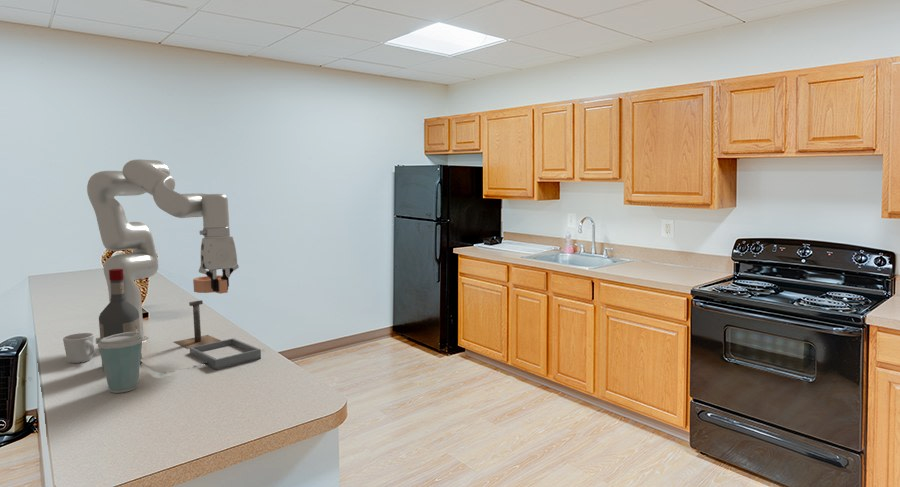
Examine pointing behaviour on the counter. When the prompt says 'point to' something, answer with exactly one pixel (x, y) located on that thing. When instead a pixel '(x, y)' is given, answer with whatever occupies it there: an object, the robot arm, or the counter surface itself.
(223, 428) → the counter surface
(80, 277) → the counter surface
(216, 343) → the gray rectangular frame
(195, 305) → the post stand
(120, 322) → the liquor
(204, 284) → the ring
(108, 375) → the disposable coffee cup
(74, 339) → the cup
